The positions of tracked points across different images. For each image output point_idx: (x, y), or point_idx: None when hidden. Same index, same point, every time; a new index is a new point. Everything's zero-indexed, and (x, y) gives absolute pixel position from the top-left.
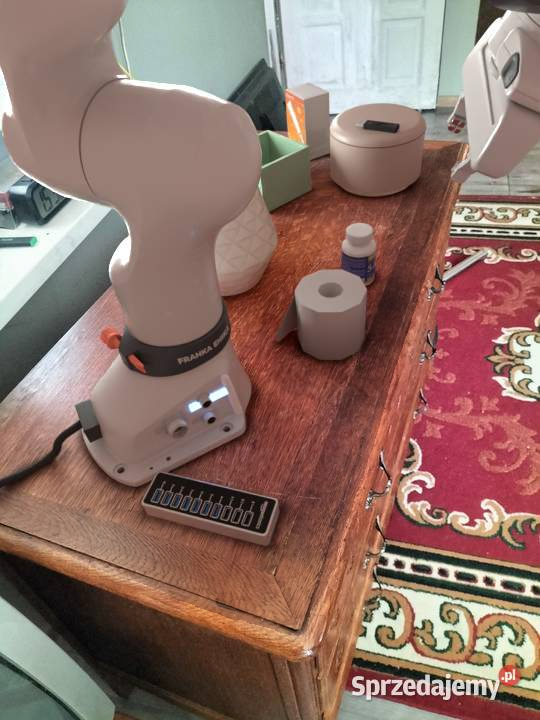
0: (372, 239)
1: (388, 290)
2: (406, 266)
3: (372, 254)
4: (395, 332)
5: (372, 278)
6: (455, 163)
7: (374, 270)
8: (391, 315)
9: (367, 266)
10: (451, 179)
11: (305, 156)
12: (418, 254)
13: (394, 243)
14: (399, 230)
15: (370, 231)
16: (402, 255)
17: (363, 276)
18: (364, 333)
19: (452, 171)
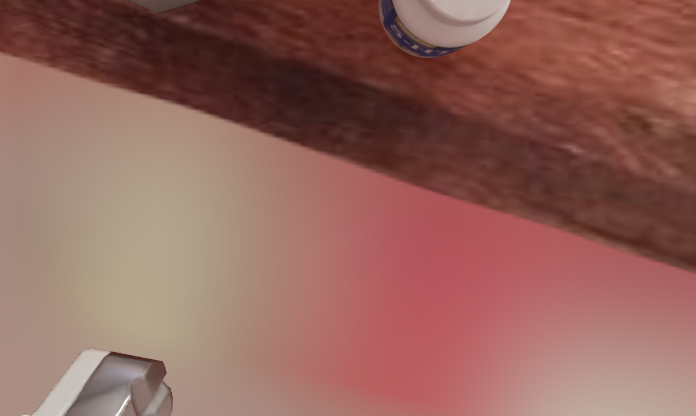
0: (470, 31)
1: (363, 96)
2: (475, 159)
3: (410, 32)
4: (182, 99)
5: (403, 48)
6: (127, 404)
7: (419, 52)
8: (252, 95)
9: (392, 21)
10: (87, 349)
11: None
12: (532, 200)
13: (598, 135)
14: (669, 157)
15: (451, 10)
16: (532, 153)
17: (384, 14)
18: (150, 8)
19: (105, 369)
